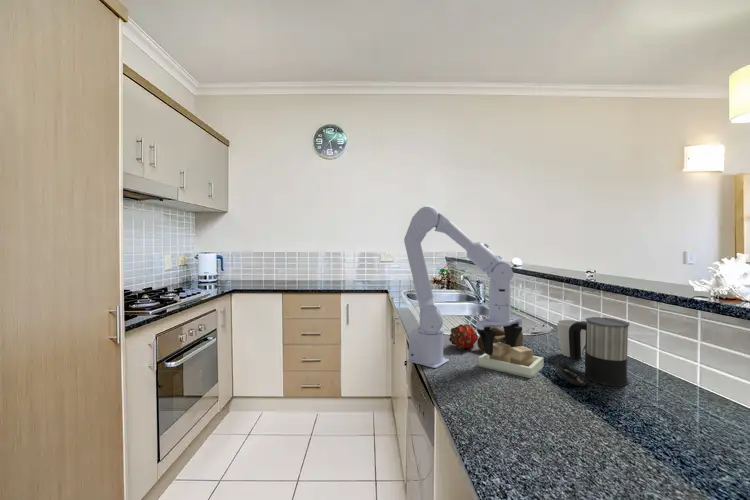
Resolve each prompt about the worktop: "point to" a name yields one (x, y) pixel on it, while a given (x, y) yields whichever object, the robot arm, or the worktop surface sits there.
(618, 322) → the milk frother
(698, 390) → the worktop surface
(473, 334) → the dragon fruit
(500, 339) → the kendama
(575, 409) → the worktop surface
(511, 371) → the tray
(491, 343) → the robot arm
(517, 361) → the maple block
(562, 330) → the cup
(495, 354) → the maple block
